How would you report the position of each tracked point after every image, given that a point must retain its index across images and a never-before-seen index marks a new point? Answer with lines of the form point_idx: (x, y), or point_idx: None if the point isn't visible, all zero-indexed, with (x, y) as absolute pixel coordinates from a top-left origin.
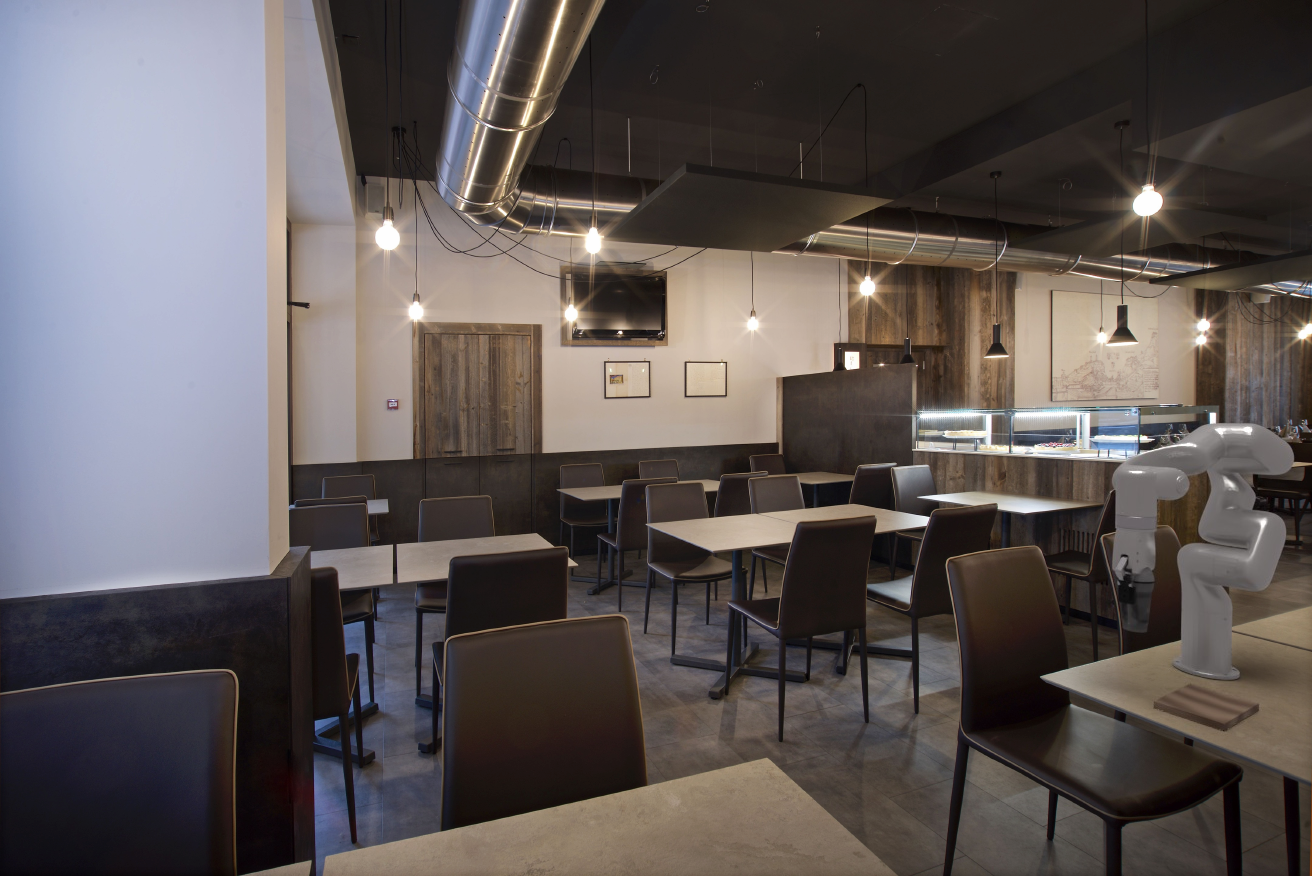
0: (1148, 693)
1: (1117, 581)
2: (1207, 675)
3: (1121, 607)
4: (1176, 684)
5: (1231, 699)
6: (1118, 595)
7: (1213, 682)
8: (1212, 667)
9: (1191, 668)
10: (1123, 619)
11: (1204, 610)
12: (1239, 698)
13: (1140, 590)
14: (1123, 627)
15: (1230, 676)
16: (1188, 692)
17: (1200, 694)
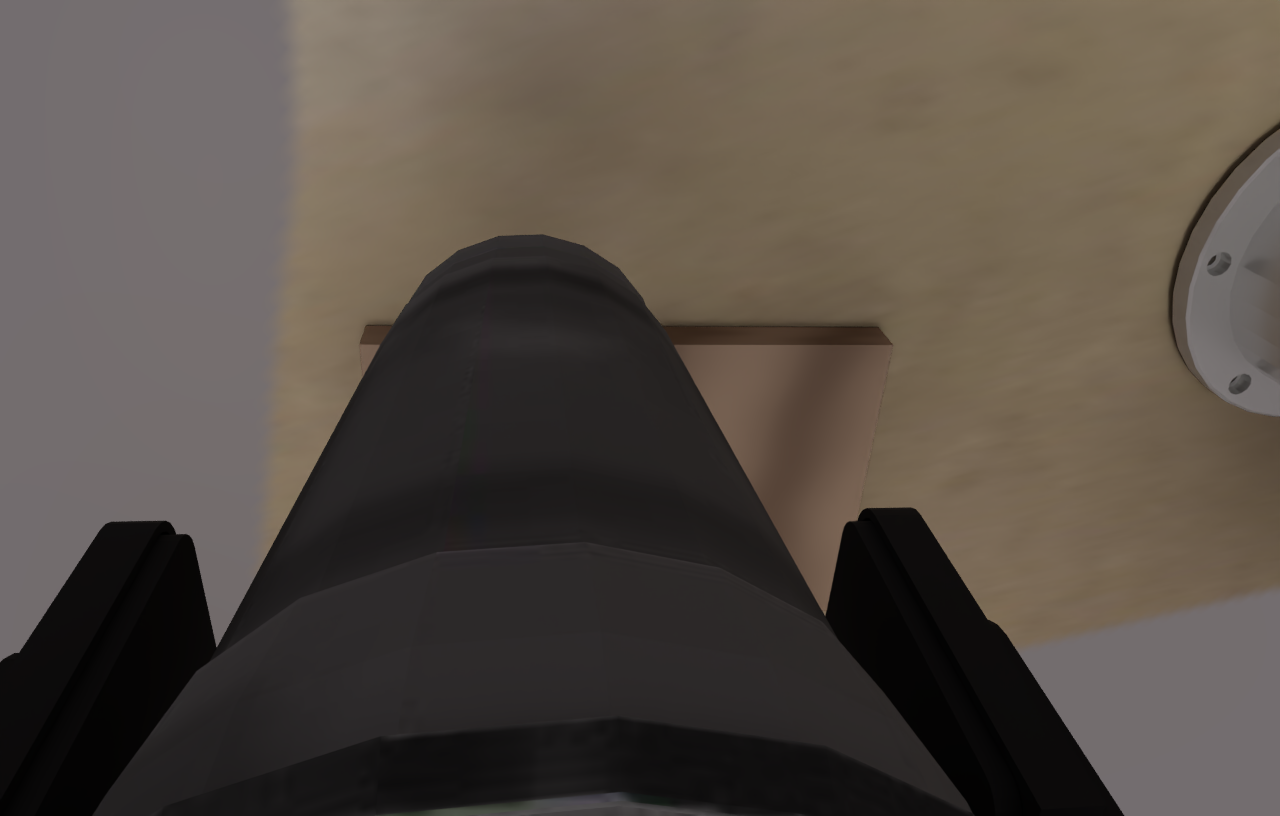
0: (598, 211)
1: (150, 775)
2: (1181, 321)
3: (355, 401)
4: (923, 247)
5: (789, 537)
6: (48, 609)
7: (1122, 350)
8: (1255, 349)
9: (1241, 236)
10: (386, 339)
11: None
12: (836, 551)
13: None
14: (426, 279)
15: (1231, 403)
16: (710, 395)
17: (735, 438)
